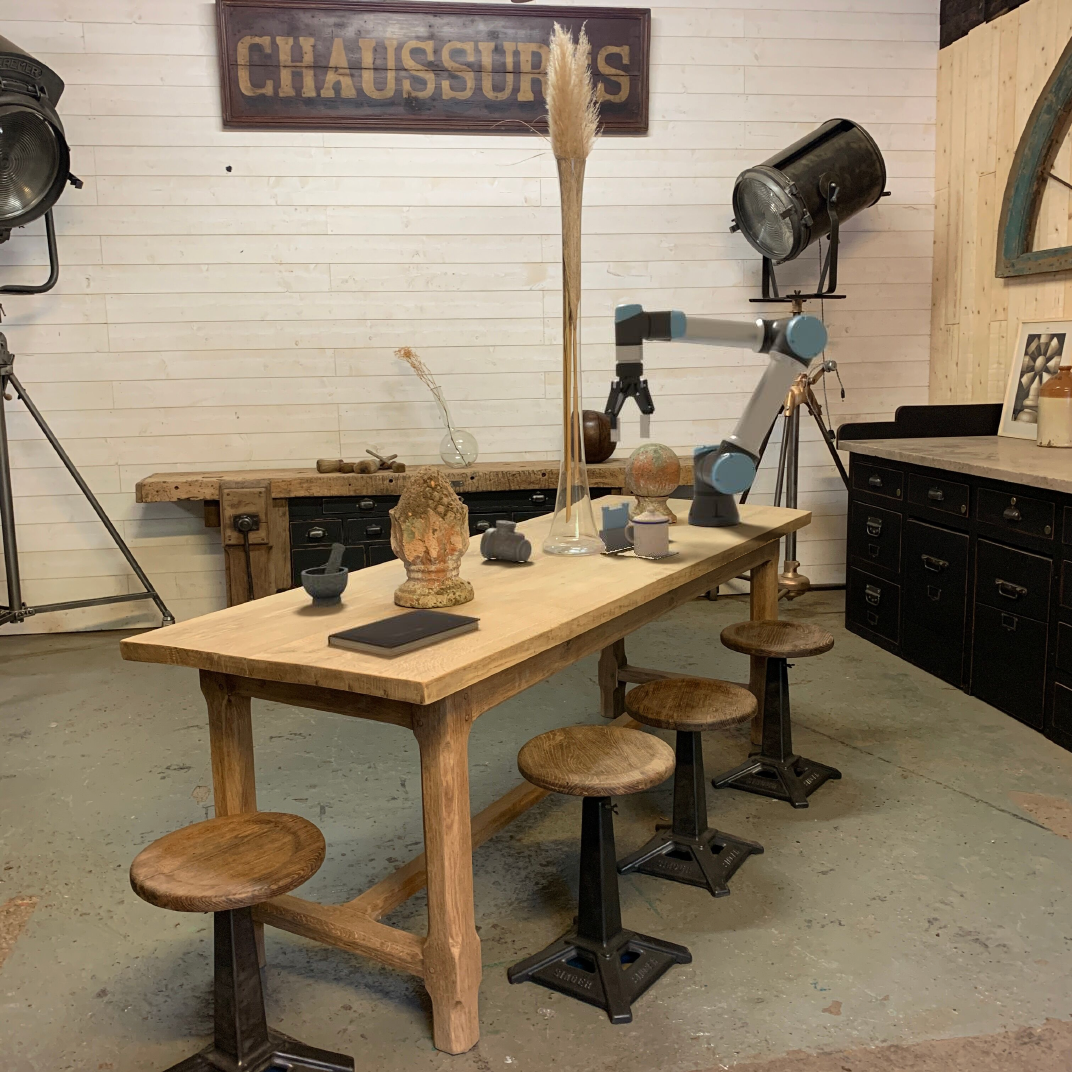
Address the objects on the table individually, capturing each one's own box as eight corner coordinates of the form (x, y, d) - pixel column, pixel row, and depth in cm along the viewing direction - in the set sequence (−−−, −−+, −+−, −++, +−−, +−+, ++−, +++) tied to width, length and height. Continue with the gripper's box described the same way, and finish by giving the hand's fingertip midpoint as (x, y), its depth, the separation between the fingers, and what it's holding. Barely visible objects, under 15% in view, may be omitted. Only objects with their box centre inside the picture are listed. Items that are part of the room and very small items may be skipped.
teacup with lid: (676, 552, 260) (675, 506, 258) (658, 558, 252) (657, 511, 251) (634, 548, 267) (634, 504, 265) (616, 554, 259) (615, 508, 258)
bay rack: (660, 538, 283) (660, 516, 282) (713, 543, 272) (713, 521, 271) (599, 553, 263) (599, 530, 262) (654, 560, 252) (654, 535, 251)
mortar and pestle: (329, 610, 210) (325, 552, 208) (293, 606, 214) (289, 549, 212) (363, 598, 220) (360, 542, 218) (328, 595, 224) (324, 540, 222)
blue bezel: (625, 525, 270) (625, 502, 269) (629, 525, 269) (629, 502, 268) (602, 530, 262) (601, 506, 261) (605, 530, 261) (605, 507, 260)
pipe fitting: (476, 559, 257) (480, 519, 256) (496, 557, 264) (500, 517, 262) (514, 569, 251) (519, 528, 249) (534, 566, 257) (538, 526, 256)
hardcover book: (480, 630, 192) (480, 618, 191) (391, 660, 174) (390, 646, 174) (419, 619, 202) (418, 608, 201) (328, 646, 184) (327, 634, 183)
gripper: (644, 361, 295) (645, 436, 298) (590, 363, 276) (591, 442, 280) (666, 360, 290) (667, 436, 293) (612, 362, 271) (614, 443, 275)
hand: (630, 439), depth 286 cm, fingers open, 13 cm apart
